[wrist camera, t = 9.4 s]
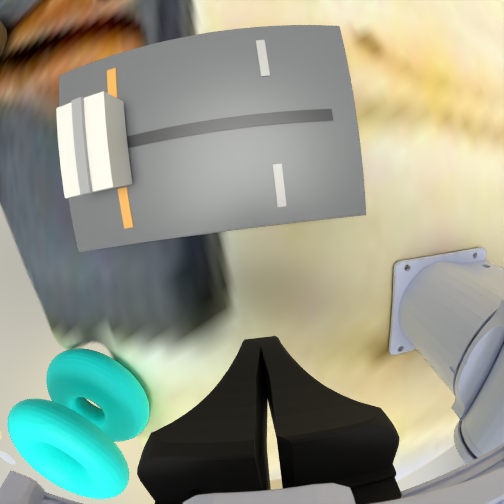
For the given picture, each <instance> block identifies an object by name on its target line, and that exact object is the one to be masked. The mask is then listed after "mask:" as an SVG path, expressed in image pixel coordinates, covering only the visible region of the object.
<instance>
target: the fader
mask: <svg viewBox="0 0 504 504" xmlns="http://www.w3.org/2000/svg"><path fill="white" fill-rule="evenodd" d="M56 110H57V130H58V144H59V155H60V165H61V173H62V181H63V188H64V195H65V198H69V197H74V196H79V195H84V194H89V193H93V192H98V191H102V190H107V189H111V188H116V187H121V186H125V185H130V184H133V183H132V176H131V169H130V161H129V153H128V144H127V135H126V124H125V113H124V101H122V100H120V99H118V98H116V97H114V96H112V95H110V94H108V93H106V92H104V91H103V92H100V93H97V94H94V95H91V96H88V97H85V98H83V97H79V98H77V99H74V100H71V103H68V104H66V105H63V106H61V107H58V108H56Z"/></svg>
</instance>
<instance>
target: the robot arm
mask: <svg viewBox="0 0 504 504" xmlns="http://www.w3.org/2000/svg"><path fill="white" fill-rule="evenodd" d="M473 254H474V256H473ZM407 264H408V268H407V269H404V268H405V266H406V265H407ZM399 347H401V348H400V349H398V348H399ZM415 349H417V350H418V352H419V353H420V354H421V355H422V356H423V357H424V359H425V360H426V361H427V362H428V363H429V364H430V366H431V367H432V368H433V369H434V370H435V372H436V373H437V374H438V375H439V376H440V378H441V379H442V380H443V381H444V382H445V384H446V385H447V386H448V387H449V389H450V390H451V391H452V392H453V393H454V395H455V396H456V398H455V402H454V404H453V406H452V409H453V410H454V412H455V413H456V414H457V416H458V417H459V419H460V420H459V422H458V423H457V425H456V428H455V431H454V442H455V446H456V449H457V451H458V453H459V455H460V456H461V458H462V460H463V461H464V463H465V465H463V466H461V467H459V468H457V469H455V470H453V471H451V472H449V473H447V474H444V475H442V476H440V477H437V478H435V479H433V480H430V481H428V482H425V483H423V484H421V485H418V486H415V487H413V488H410V489H407V490H404V491H401V492H400V490H399V487H398V485H397V482H396V480H395V476H396V471H395V468H394V466H393V461H394V458H395V455H396V452H397V448H398V445H399V436H398V433H397V431H396V429H395V427H394V425H393V424H392V422H391V421H390V420H389V418H388V417H387V416H386V414H385V413H384V412H383V410H382V409H381V408H379V407H375V406H371V405H368V404H364V403H361V402H358V401H355V400H352V399H350V398H347V397H345V396H343V395H341V394H339V393H337V392H335V391H333V390H331V389H329V388H327V387H326V386H324V385H323V384H321V383H320V382H319V381H317V380H316V379H314V378H313V377H312V376H311V375H309V374H308V373H307V372H306V371H305V370H304V369H303V368H302V367H301V366H300V365H299V364H298V363H297V362H296V361H295V360H294V359H293V358H292V357H291V356H290V354H289V353H288V352H287V351H286V349H285V348H284V347H283V345H282V344H281V342H280V340H279V338H278V337H276V336H272V337H264V338H255V339H246V340H244V341H243V342H242V345H241V348H240V350H239V352H238V354H237V356H236V358H235V359H234V361H233V363H232V364H231V366H230V368H229V369H228V371H227V372H226V374H225V375H224V377H223V378H222V379H221V381H220V382H219V383H218V384H217V386H216V387H215V388H214V389H213V390H212V391H211V392H210V394H209V395H208V396H207V397H206V398H205V399H203V400H202V401H201V402H200V403H199V404H198V405H197V406H195V407H194V408H193V409H192V410H190V411H189V412H188V413H186V414H185V415H183V416H182V417H180V418H179V419H177V420H175V421H174V422H172V423H170V424H168V425H166V426H164V427H163V428H161V429H159V430H157V431H155V432H152V433H151V434H150V437H149V439H148V441H147V443H146V445H145V447H144V449H143V452H142V455H141V459H140V462H139V465H138V471H137V475H138V477H139V479H140V481H141V482H142V484H143V485H144V486H145V488H146V489H147V491H148V492H149V493H150V495H151V496H152V497H153V499H154V500H155V504H504V269H503V268H501V267H499V266H497V265H495V264H493V263H491V262H489V261H487V260H486V249H485V248H482V247H479V248H474V249H468V250H463V251H457V252H451V253H445V254H439V255H433V256H427V257H421V258H415V259H409V260H402V261H398V262H397V263H396V264H395V265H394V278H393V301H392V317H391V329H390V340H389V352H390V354H391V355H396V354H400V353H404V352H408V351H412V350H415ZM267 398H268V402H269V407H270V411H271V416H272V420H273V424H274V429H275V433H276V437H277V444H278V452H279V460H280V469H281V477H282V485H283V489H275V490H271V489H270V478H269V468H268V457H267ZM0 504H82V503H78V502H75V501H71V500H68V499H64V498H61V497H58V496H55V495H52V494H49V493H46V492H45V491H44V489H43V488H42V487H41V486H40V485H39V484H38V483H37V482H36V481H34V480H33V479H31V478H29V477H27V476H24V475H22V474H19V473H16V472H14V471H10V473H9V474H8V476H7V478H6V479H5V481H4V483H3V484H2V486H1V488H0Z"/></svg>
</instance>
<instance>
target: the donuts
mask: <svg viewBox="0 0 504 504" xmlns="http://www.w3.org/2000/svg"><path fill="white" fill-rule="evenodd" d="M47 388H48V392H49V395H50V397H51V400H52V401H48V400H43V399H27V400H24V401H21V402H19V403H18V404H16V405H15V406H14V407H13V408H12V410H11V411H10V414H9V416H8V430H9V434H10V437H11V440H12V442H13V444H14V445H15V447H16V448H17V450H18V451H19V453H20V454H21V456H22V457H23V458H24V459H25V460H26V461H27V462H28V463H29V464H30V465H31V466H32V467H33V468H34V469H35V470H36V471H38V472H39V473H40V474H41V475H42V476H44V477H45V478H46V479H48V480H49V481H51V482H53V483H54V484H56V485H58V486H59V487H61V488H63V489H65V490H68V491H70V492H72V493H75V494H78V495H81V496H84V497H89V498H95V499H106V498H111V497H115V496H117V495H119V494H120V493H121V492H123V490H124V489H125V488H126V486H127V484H128V480H129V469H128V465H127V462H126V460H125V458H124V456H123V454H122V452H121V451H120V449H119V448H118V447H117V445H116V444H115V443H114V442H115V441H125V440H129V439H132V438H134V437H136V436H137V435H138V434H140V433H141V432H142V431H143V430H144V428H145V427H146V425H147V423H148V420H149V416H150V407H149V402H148V398H147V396H146V393H145V391H144V389H143V387H142V386H141V384H140V383H139V381H138V380H137V379H136V378H135V377H134V376H133V374H132V373H131V372H130V371H128V370H127V369H126V368H125V367H124V366H123V365H121V364H120V363H118V362H117V361H115V360H114V359H112V358H110V357H108V356H106V355H104V354H102V353H99V352H96V351H92V350H89V349H70V350H67V351H64V352H62V353H60V354H59V355H57V356H56V357H55V358H54V359H53V360H52V362H51V364H50V366H49V368H48V372H47ZM85 398H86V399H89V400H91V401H92V402H94V403H96V404H97V405H98V406H99V407H100V408H101V409H100V408H98V407H96V406H94V405H93V404H91V403H90V402H89V401H87V400H86V399H85ZM113 441H114V442H113Z"/></svg>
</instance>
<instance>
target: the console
mask: <svg viewBox="0 0 504 504" xmlns="http://www.w3.org/2000/svg"><path fill="white" fill-rule="evenodd" d="M103 91H104V92H106V93H108V94H110V95H112V96H114V97H116V98H118V99H120V100H122V101H124V113H125V124H126V135H127V144H128V153H129V161H130V169H131V176H132V183H133V184H130V185H125V186H121V187H116V188H111V189H107V190H102V191H98V192H93V193H89V194H84V195H79V196H74V197H69V198H68V199H69V205H70V211H71V216H72V222H73V227H74V232H75V237H76V242H77V246H78V251H79V252H83V251H89V250H95V249H102V248H108V247H115V246H122V245H128V244H135V243H142V242H149V241H156V240H163V239H170V238H178V237H185V236H192V235H200V234H207V233H215V232H223V231H230V230H238V229H246V228H254V227H262V226H271V225H279V224H288V223H296V222H305V221H314V220H323V219H332V218H341V217H351V216H361V215H366V205H365V190H364V178H363V167H362V157H361V147H360V139H359V131H358V123H357V116H356V109H355V103H354V96H353V90H352V85H351V79H350V74H349V68H348V63H347V58H346V53H345V49H344V44H343V40H342V35H341V31H340V27H339V26H323V25H290V26H267V27H254V28H243V29H234V30H225V31H218V32H211V33H205V34H199V35H193V36H188V37H182V38H178V39H173V40H168V41H164V42H160V43H155V44H151V45H147V46H144V47H140V48H136V49H133V50H129V51H126V52H122V53H119V54H116V55H113V56H110V57H107V58H104V59H101V60H98V61H95V62H92V63H90V64H87V65H84V66H82V67H79V68H76V69H74V70H71V71H69V72H67V73H64V74H62V75H59V103H60V107H61V106H63V105H66V104H68V103H71V100H74V99H77V98H79V97H83V98H85V97H88V96H91V95H94V94H97V93H100V92H103Z"/></svg>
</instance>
